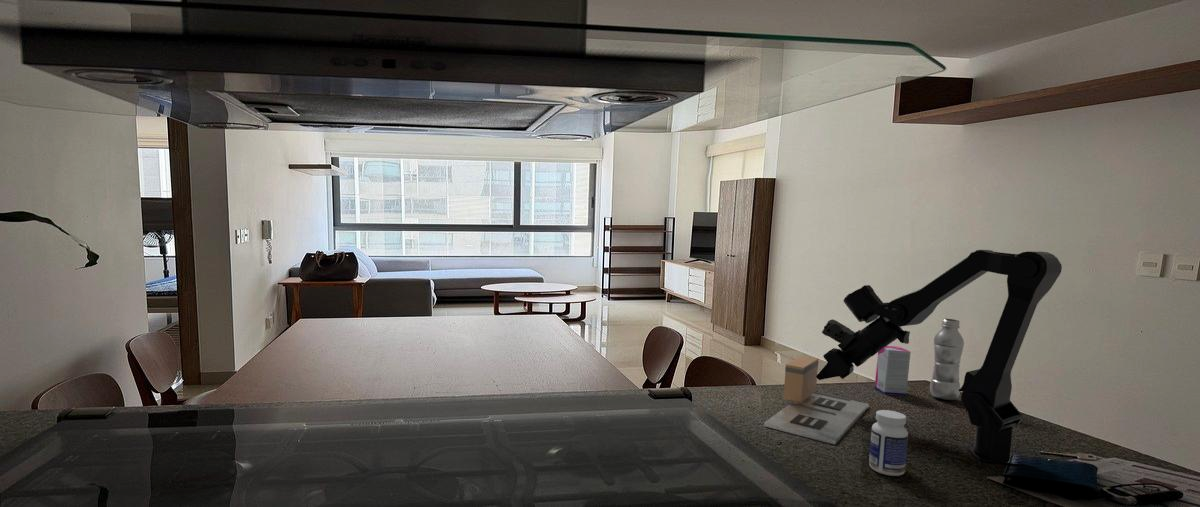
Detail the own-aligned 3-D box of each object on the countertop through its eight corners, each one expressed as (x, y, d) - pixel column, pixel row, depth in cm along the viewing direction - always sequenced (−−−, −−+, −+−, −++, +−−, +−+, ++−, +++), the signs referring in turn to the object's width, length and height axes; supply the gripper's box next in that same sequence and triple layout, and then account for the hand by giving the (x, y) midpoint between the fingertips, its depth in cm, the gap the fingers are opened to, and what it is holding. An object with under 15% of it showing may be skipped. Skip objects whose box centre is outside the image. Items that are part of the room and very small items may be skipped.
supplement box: (907, 395, 147) (911, 351, 146) (883, 394, 147) (887, 349, 147) (896, 388, 153) (900, 345, 152) (873, 387, 153) (877, 344, 152)
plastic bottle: (965, 403, 143) (972, 323, 142) (937, 402, 143) (944, 321, 142) (949, 395, 149) (957, 318, 148) (923, 394, 149) (930, 316, 148)
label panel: (868, 407, 136) (868, 402, 136) (834, 444, 112) (835, 439, 112) (807, 393, 144) (807, 389, 144) (764, 426, 120) (764, 421, 120)
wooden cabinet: (816, 390, 142) (818, 358, 142) (801, 402, 132) (803, 367, 132) (799, 387, 145) (801, 355, 144) (783, 398, 135) (785, 364, 134)
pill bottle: (909, 470, 102) (914, 414, 101) (899, 480, 98) (904, 422, 97) (874, 459, 106) (879, 406, 105) (863, 468, 102) (868, 413, 101)
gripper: (856, 305, 139) (806, 343, 146) (836, 314, 124) (781, 356, 131) (890, 343, 135) (837, 381, 142) (873, 357, 120) (815, 398, 127)
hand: (817, 378), depth 136 cm, fingers closed
